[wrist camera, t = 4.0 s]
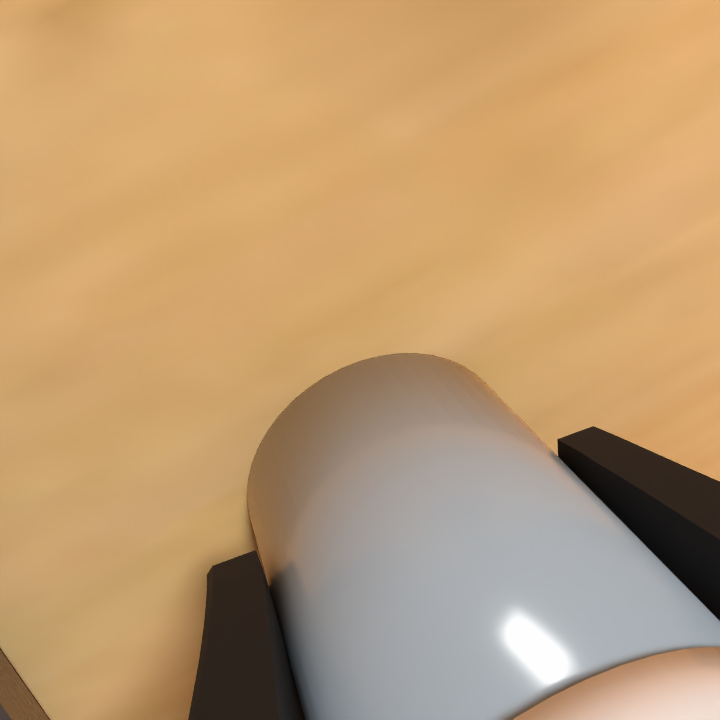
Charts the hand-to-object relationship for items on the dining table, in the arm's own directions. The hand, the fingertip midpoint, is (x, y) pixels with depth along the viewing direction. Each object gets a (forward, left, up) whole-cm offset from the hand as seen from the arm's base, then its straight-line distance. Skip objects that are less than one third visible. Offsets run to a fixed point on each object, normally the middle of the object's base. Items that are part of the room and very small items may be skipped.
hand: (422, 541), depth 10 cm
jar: (0, 0, -2) cm, 2 cm away
